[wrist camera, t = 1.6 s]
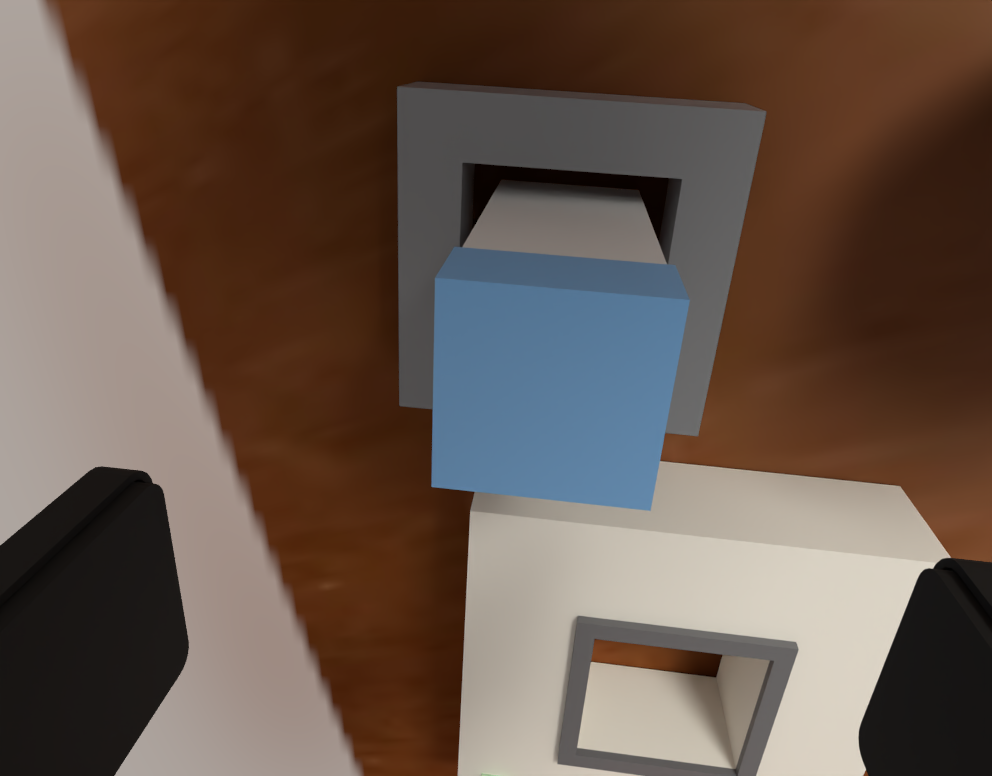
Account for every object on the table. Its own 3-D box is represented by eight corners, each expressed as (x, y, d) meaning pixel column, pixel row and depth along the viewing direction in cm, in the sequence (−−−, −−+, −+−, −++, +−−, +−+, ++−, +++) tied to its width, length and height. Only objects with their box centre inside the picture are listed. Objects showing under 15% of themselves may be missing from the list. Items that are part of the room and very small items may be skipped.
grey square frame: (418, 81, 20) (397, 86, 18) (745, 103, 19) (766, 111, 17) (416, 371, 24) (399, 406, 22) (686, 398, 23) (698, 435, 21)
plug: (498, 175, 21) (435, 277, 12) (642, 186, 20) (689, 299, 11) (490, 310, 23) (431, 486, 14) (622, 322, 22) (650, 510, 13)
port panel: (486, 443, 25) (467, 521, 21) (899, 486, 24) (964, 577, 20) (470, 716, 31) (454, 817, 27) (797, 760, 30) (830, 872, 26)
